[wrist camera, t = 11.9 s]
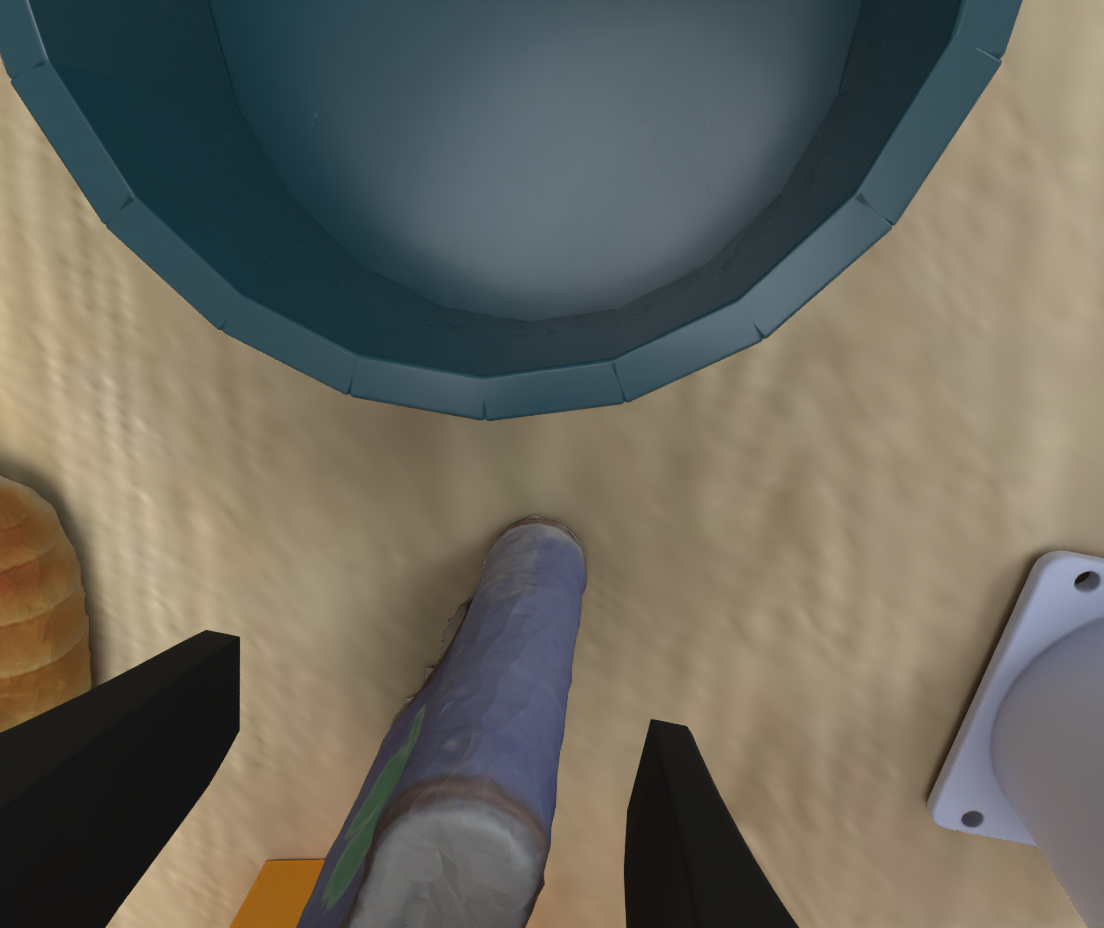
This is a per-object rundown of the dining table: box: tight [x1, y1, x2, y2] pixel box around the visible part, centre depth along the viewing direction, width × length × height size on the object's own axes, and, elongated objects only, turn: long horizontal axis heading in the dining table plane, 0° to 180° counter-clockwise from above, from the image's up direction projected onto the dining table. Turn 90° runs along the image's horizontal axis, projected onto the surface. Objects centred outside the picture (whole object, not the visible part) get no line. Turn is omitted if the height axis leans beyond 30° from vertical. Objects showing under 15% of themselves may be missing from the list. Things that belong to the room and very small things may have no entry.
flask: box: [296, 515, 587, 928], centre depth 14 cm, size 9×3×11 cm, turn 152°
